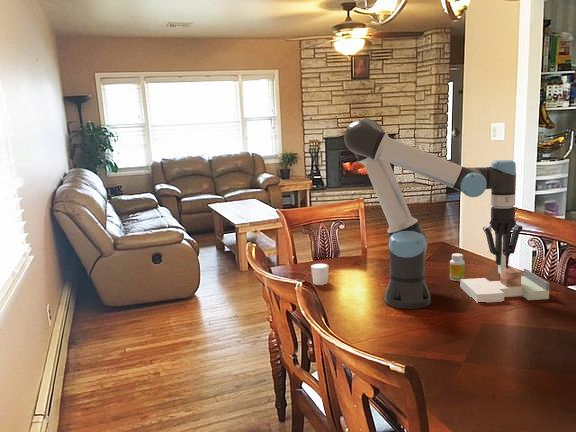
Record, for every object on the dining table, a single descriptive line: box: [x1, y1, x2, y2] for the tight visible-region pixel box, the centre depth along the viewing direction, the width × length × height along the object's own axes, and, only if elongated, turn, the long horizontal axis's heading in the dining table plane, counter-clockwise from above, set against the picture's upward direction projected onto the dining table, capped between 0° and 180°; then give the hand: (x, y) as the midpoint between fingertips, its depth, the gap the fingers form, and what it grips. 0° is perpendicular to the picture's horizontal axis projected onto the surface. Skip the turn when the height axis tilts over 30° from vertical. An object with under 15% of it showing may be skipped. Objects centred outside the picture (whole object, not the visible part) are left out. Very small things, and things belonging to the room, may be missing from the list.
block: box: [499, 267, 522, 287], centre depth 173 cm, size 5×5×5 cm
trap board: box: [459, 268, 550, 304], centre depth 174 cm, size 24×16×6 cm, turn 91°
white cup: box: [310, 263, 329, 286], centre depth 195 cm, size 7×7×7 cm
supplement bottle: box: [449, 252, 466, 282], centre depth 190 cm, size 5×5×10 cm
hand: (501, 273), depth 173 cm, fingers closed
